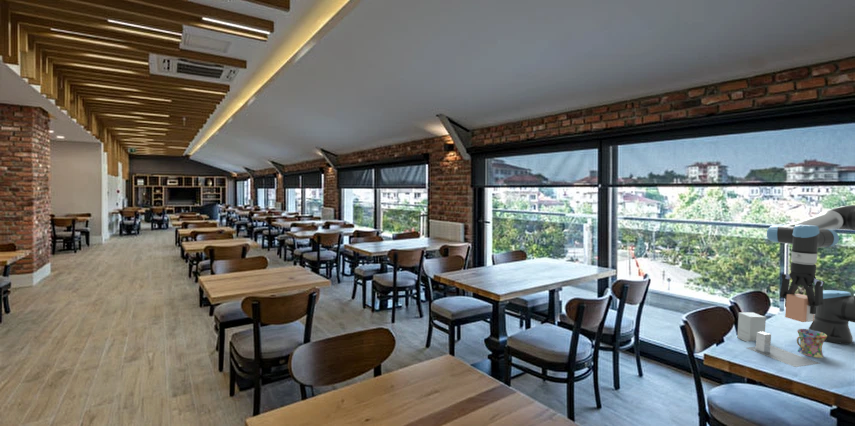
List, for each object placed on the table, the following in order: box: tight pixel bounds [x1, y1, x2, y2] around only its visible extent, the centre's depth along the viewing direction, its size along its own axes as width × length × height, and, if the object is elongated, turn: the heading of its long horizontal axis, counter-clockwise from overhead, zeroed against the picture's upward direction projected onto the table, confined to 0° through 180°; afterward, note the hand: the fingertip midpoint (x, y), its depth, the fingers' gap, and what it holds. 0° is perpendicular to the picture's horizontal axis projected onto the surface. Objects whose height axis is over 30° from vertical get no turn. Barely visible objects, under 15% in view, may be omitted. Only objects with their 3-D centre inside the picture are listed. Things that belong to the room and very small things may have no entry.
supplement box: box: [736, 311, 767, 343], centre depth 186 cm, size 7×7×13 cm
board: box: [746, 344, 821, 368], centre depth 167 cm, size 14×19×2 cm
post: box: [755, 331, 772, 353], centre depth 170 cm, size 3×3×8 cm
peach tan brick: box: [784, 293, 814, 323], centre depth 161 cm, size 6×6×10 cm
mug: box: [796, 328, 827, 358], centre depth 168 cm, size 12×9×11 cm
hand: (799, 318), depth 161 cm, fingers closed on peach tan brick, 6 cm apart
